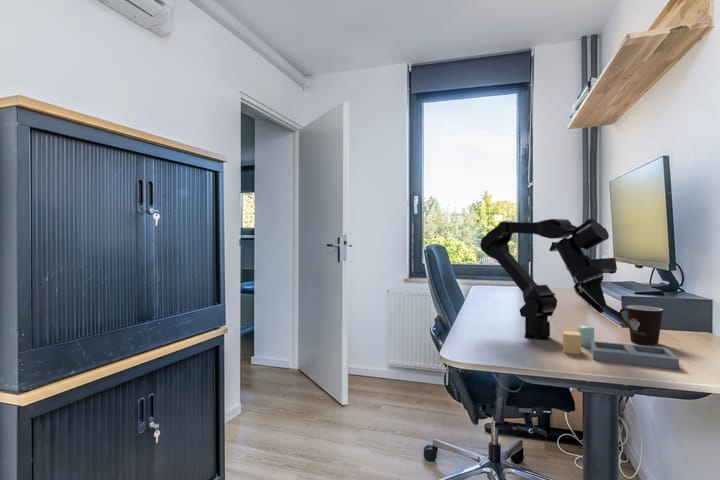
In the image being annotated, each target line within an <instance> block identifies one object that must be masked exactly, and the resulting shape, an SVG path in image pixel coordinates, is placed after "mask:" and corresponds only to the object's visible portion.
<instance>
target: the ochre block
mask: <svg viewBox="0 0 720 480" xmlns="http://www.w3.org/2000/svg"><path fill="white" fill-rule="evenodd" d="M562 333H563V334H562V339H563V340H562V345H563V346H562V348H563V353H566V354H573V355H574V354H575V355H582V346H581V334H580V332H578V331H573V330H572V331H570V330H563V332H562Z"/></svg>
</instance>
